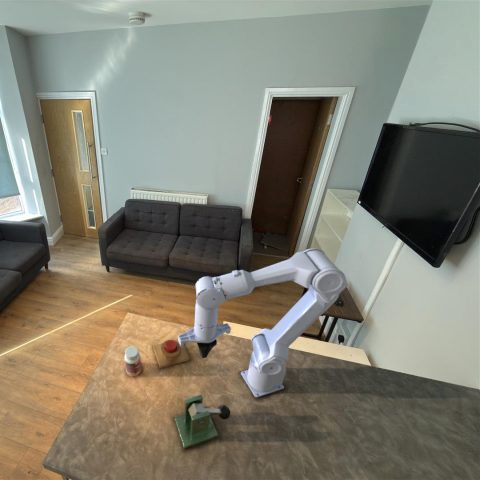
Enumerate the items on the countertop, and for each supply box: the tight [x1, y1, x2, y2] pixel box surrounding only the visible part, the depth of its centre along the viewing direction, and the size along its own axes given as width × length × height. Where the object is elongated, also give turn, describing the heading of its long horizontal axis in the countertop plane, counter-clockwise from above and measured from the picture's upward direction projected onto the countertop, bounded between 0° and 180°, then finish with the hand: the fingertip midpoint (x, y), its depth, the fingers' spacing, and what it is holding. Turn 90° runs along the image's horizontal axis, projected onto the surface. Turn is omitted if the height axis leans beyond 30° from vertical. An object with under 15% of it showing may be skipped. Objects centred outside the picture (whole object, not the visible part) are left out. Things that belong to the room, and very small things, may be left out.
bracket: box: [174, 394, 219, 450], centre depth 65 cm, size 9×7×9 cm
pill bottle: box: [124, 345, 142, 377], centre depth 80 cm, size 5×5×8 cm
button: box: [165, 339, 176, 353], centre depth 85 cm, size 4×4×2 cm
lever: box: [188, 403, 231, 421], centre depth 65 cm, size 12×3×3 cm, turn 107°
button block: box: [152, 339, 191, 369], centre depth 86 cm, size 10×8×3 cm
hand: (203, 355), depth 74 cm, fingers closed
